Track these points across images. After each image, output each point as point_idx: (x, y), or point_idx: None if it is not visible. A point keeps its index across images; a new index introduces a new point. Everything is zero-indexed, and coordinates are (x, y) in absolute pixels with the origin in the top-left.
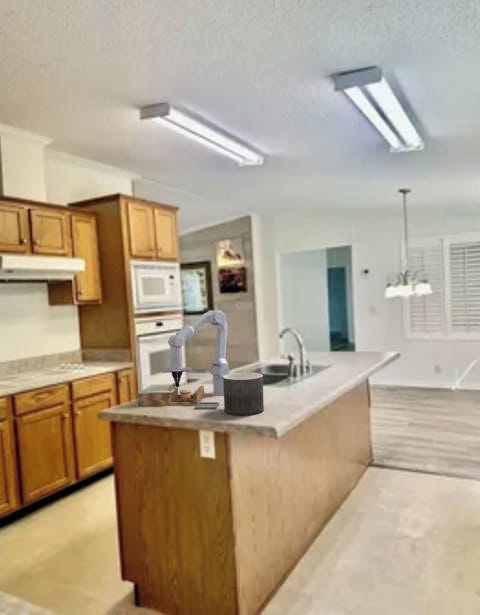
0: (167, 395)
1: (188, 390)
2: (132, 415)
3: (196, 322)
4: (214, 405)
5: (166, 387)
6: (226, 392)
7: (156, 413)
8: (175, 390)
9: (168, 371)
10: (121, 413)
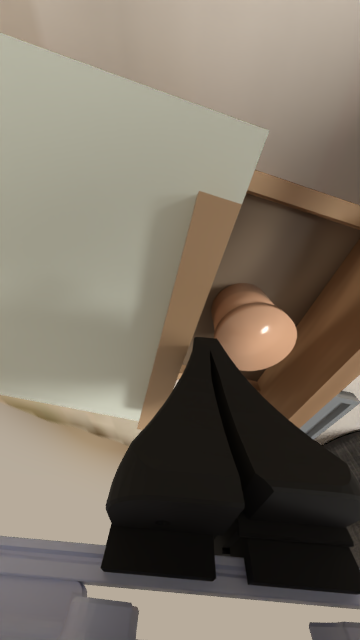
0: None
1: (281, 336)
2: (59, 422)
3: None
4: (321, 414)
5: (103, 303)
6: (350, 549)
7: (125, 422)
8: None
9: (32, 580)
10: (12, 400)
